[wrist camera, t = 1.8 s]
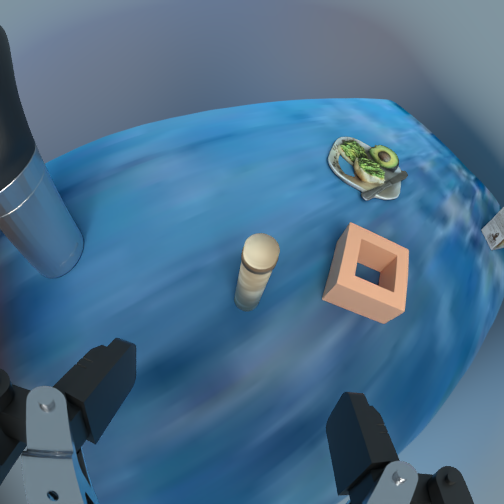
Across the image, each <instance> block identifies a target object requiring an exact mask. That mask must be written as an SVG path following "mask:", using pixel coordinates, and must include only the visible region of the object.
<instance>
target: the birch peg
mask: <svg viewBox="0 0 504 504" xmlns="http://www.w3.org/2000/svg"><path fill="white" fill-rule="evenodd" d="M279 252H280V248H279V245H278V243H277V241H276V240H275V239H274V238H273V237H271V236H269V235H267V234H263V233H258V234H254V235H252V236H250V237H249V238H248V239H247V240H246V242H245V245H244V247H243V250H242V255H241V266H240V271H239V276H238V282H237V287H236V292H235V297H234V301H235V304H236V306H237V307H238V308H239V309H240V310H243V311H251V310H253V309H255V308H256V307H257V305H258V303H259V301H260V298H261V296H262V294H263V291H264V289H265V287H266V284H267V282H268V279H269V277H270V275H271V272H272V270H273V269H274V267H275V266H276V263H277V261H278V255H279Z"/></svg>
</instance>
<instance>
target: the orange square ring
mask: <svg viewBox="0 0 504 504" xmlns="http://www.w3.org/2000/svg"><path fill="white" fill-rule="evenodd" d="M408 259H409V250H408V249H406V248H404V247H402V246H400V245H398V244H396V243H394V242H392V241H390V240H388V239H385V238H383V237H381V236H379V235H377V234H375V233H373V232H371V231H369V230H366V229H364V228H362V227H360V226H358V225H355V224H353V223H351V222H350V223H349V225H348V226H347V228H346V229H345V231H344V232H343V234H342V235H341V237H340V238H339V240H338V241H337V244H336V248H335V252H334V256H333V260H332V264H331V268H330V272H329V275H328V279H327V283H326V286H325V290H324V293H323V297H322V300H324V301H327V302H329V303H332V304H334V305H337V306H339V307H342V308H344V309H347V310H350V311H352V312H355V313H357V314H360V315H362V316H365V317H367V318H370V319H372V320H375V321H378V322H380V323H383V324H385V323H387V322H388V321H390V320H392V319H393V318H395V317H397V316H398V315H400V314H402V313H403V312H405V303H406V292H407V279H408ZM357 262H358V263H360V264H363V265H365V266H367V267H370V268H372V269H374V270H376V271H379V272H380V278H379V285H375V284H373V283H371V282H368V281H366V280H364V279H361V278H359V277H357V276H355V271H356V266H357Z"/></svg>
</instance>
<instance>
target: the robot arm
mask: <svg viewBox="0 0 504 504" xmlns="http://www.w3.org/2000/svg"><path fill="white" fill-rule="evenodd" d="M0 229H1V230H2V232H3V233H4V234H5V235H6V237H7V238H8V239H9V240H10V241H11V242H12V244H13V245H14V246H15V247H16V248H17V249H18V250H19V251H20V253H21V254H22V255H23V256H24V257H25V258H26V259H27V260H28V261H29V262H30V263H31V264H32V265H33V267H34V268H35V269H36V270H37V271H38V272H39V273H41V274H42V275H43V276H45V277H47V278H57V277H60V276H62V275H64V274H66V273H67V272H69V271H70V270H71V269H72V268H73V267H74V266H75V264H76V263H77V262H78V260H79V258H80V256H81V253H82V250H83V236H82V234H81V232H80V230H79V228H78V227H77V225H76V223H75V222H74V220H73V218H72V216H71V215H70V213H69V211H68V209H67V207H66V206H65V204H64V202H63V200H62V198H61V196H60V194H59V192H58V190H57V189H56V187H55V185H54V183H53V181H52V179H51V177H50V174H49V172H48V170H47V168H46V166H45V164H44V162H43V160H42V158H41V155H40V153H39V151H38V148H37V146H36V144H35V141H34V139H33V136H32V134H31V131H30V129H29V126H28V123H27V120H26V117H25V114H24V111H23V108H22V105H21V102H20V98H19V95H18V91H17V86H16V81H15V76H14V70H13V64H12V58H11V52H10V47H9V43H8V38H7V35H6V33H5V31H4V29H3V28H2V27H1V26H0ZM135 379H136V345H135V344H133V343H130V342H128V341H125V340H122V339H120V338H115V339H114V340H113V341H112V342H111V343H110V344H109V345H108V346H107V347H106V346H104V345H100V346H98V347H96V348H93V349H91V350H90V351H89V352H88V353H87V354H86V355H85V356H84V357H83V359H82V358H81V359H80V360H79V361H78V362H77V365H76V364H75V365H74V366H73V367H72V368H71V369H70V370H69V371H68V372H67V373H66V374H65V375H64V376H63V377H62V378H61V379H60V380H59V381H58V382H57V383H56V384H55V385H54V386H53V387H50V386H40V387H36V388H34V389H33V390H31V391H30V390H27V389H24V388H21V387H18V386H16V385H13V384H11V381H10V378H9V376H8V374H7V373H6V372H5V371H4V370H2V369H0V485H1V484H2V482H3V480H4V479H5V477H6V476H7V474H8V473H9V471H10V469H11V468H12V466H13V465H14V463H15V462H16V460H17V459H18V457H19V456H20V455H21V462H22V472H23V480H24V487H25V493H26V498H27V503H28V504H100V503H99V501H98V498H97V496H96V494H95V492H94V489H93V486H92V483H91V479H90V476H89V473H88V469H87V465H86V461H85V457H84V453H83V449H82V445H83V444H84V442H85V441H86V440H88V441H90V442H92V443H94V444H96V443H97V442H98V440H99V439H100V437H101V435H102V434H103V432H104V431H105V429H106V428H107V426H108V424H109V423H110V421H111V420H112V418H113V417H114V415H115V414H116V412H117V410H118V409H119V407H120V406H121V404H122V403H123V401H124V400H125V398H126V397H127V395H128V394H129V392H130V391H131V389H132V387H133V385H134V382H135ZM387 432H388V431H387V429H386V426H384V422H383V419H382V417H381V415H380V414H379V412H378V411H377V410H376V409H375V408H374V407H373V406H369V404H368V402H367V399H366V397H365V395H364V394H363V393H352V392H345V393H343V394H342V396H341V398H340V399H339V401H338V403H337V405H336V406H335V408H334V410H333V411H332V413H331V415H330V416H329V418H328V421H327V425H326V433H327V438H328V443H329V449H330V454H331V459H332V465H333V470H334V476H335V481H336V487H337V493H338V496H339V495H349V496H350V500H349V501H348V502H347V503H346V504H474V503H473V500H472V497H471V495H470V492H469V490H468V488H467V485H466V483H465V481H464V479H463V476H462V474H461V473H460V472H459V471H458V470H457V469H456V468H454V467H451V466H445V467H442V468H441V469H439V470H438V471H437V472H436V473H435V474H434V475H430V474H418V473H417V471H416V469H415V468H414V467H413V466H412V465H410V464H409V463H407V462H404V461H400V460H399V458H398V456H397V453H396V451H395V448H394V446H393V443H392V441H391V438H390V436H389V434H388V433H387ZM26 446H27V451H23V450H24V449H25V447H26ZM21 453H22V454H21Z"/></svg>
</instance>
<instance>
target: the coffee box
mask: <svg viewBox="0 0 504 504" xmlns="http://www.w3.org/2000/svg"><path fill="white" fill-rule="evenodd" d="M481 231H482V233H483V235H484V237H485V239H486V240H487V242H488V244H489V247H490V249H491V250H496V249H500V248H504V207H503V208H502V209H501V210H500V211H499V212H498V213H497V214H496V215H495V216H494V217H493V219H492V220H491V221H490V222H489V223H488V224H487V225H486V226H485V227H484V228H483V229H482V230H481Z"/></svg>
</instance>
